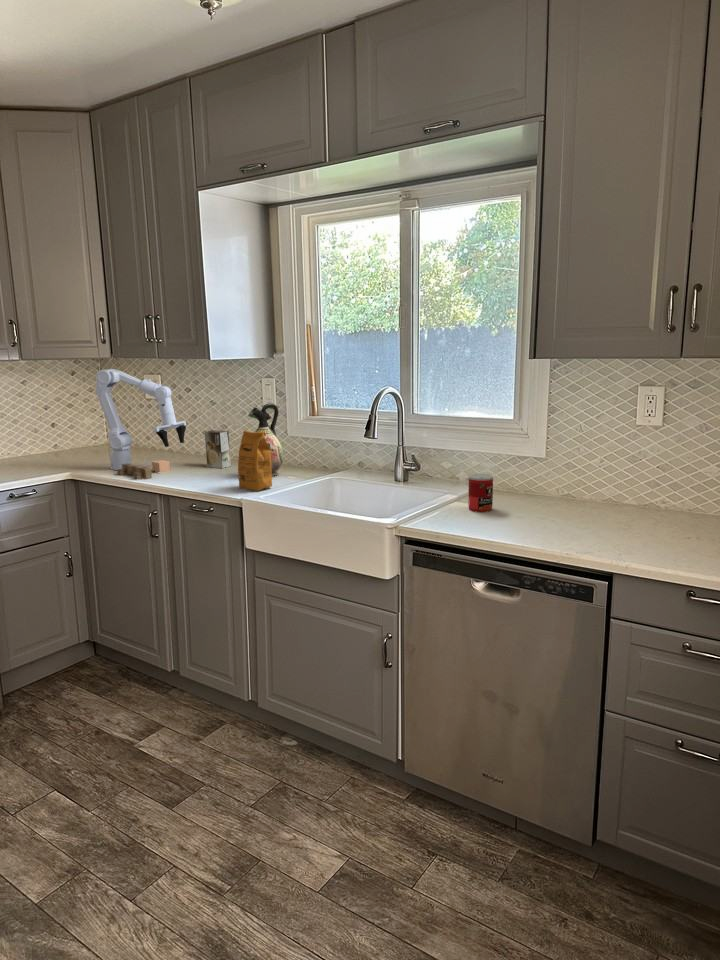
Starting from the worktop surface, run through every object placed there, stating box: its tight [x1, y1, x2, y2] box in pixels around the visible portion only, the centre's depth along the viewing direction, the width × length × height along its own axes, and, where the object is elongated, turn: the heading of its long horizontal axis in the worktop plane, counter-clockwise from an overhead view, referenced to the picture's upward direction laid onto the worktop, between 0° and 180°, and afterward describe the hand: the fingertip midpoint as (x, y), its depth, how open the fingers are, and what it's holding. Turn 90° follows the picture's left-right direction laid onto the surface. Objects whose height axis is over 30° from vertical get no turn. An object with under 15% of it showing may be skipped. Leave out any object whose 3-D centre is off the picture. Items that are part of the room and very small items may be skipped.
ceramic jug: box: [248, 402, 284, 477], centre depth 283 cm, size 17×15×30 cm
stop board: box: [117, 463, 153, 480], centre depth 289 cm, size 20×5×4 cm, turn 47°
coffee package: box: [237, 429, 273, 492], centre depth 259 cm, size 10×12×22 cm
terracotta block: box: [151, 459, 171, 473], centre depth 298 cm, size 6×5×4 cm
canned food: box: [467, 473, 494, 513], centre depth 222 cm, size 8×8×11 cm
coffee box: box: [204, 429, 232, 469], centre depth 306 cm, size 9×6×16 cm
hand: (174, 444), depth 301 cm, fingers open, 7 cm apart
